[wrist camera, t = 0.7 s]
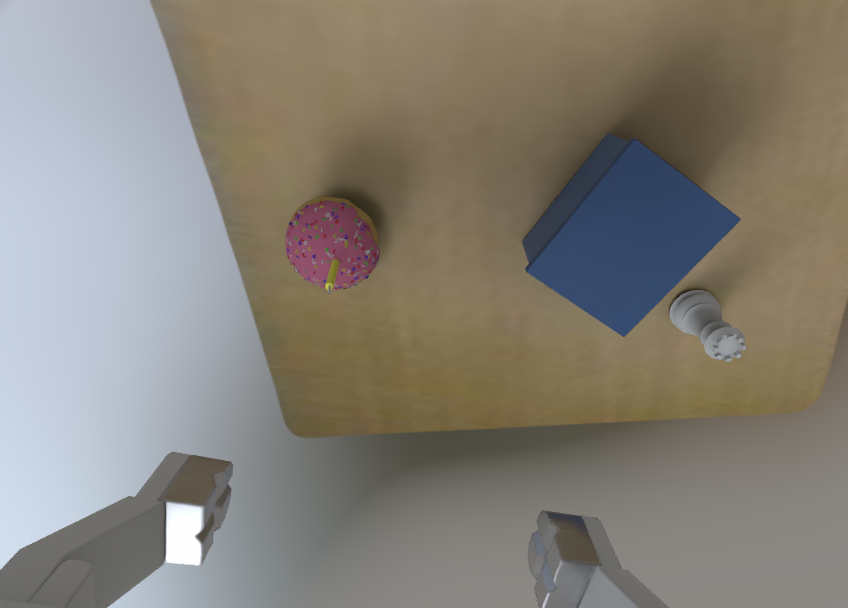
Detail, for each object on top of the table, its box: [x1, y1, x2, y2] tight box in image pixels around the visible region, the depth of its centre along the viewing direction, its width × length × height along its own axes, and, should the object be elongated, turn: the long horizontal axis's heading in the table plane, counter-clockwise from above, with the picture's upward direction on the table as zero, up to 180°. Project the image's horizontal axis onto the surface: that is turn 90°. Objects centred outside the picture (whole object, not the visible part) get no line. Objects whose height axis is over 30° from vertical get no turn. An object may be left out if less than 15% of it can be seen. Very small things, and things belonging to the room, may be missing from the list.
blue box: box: [522, 133, 741, 337], centre depth 42 cm, size 13×11×8 cm
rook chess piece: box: [670, 290, 746, 362], centre depth 45 cm, size 4×4×8 cm
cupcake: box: [286, 196, 380, 294], centre depth 43 cm, size 9×8×12 cm
